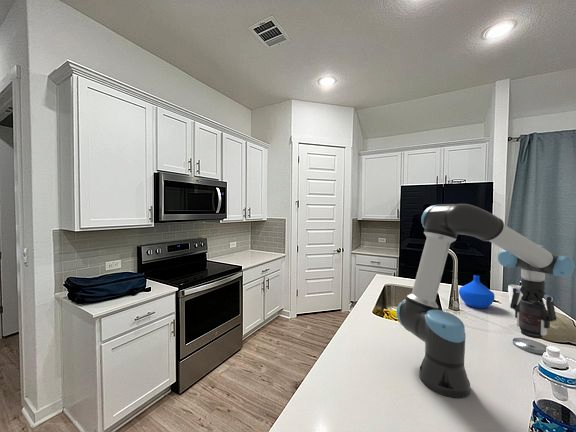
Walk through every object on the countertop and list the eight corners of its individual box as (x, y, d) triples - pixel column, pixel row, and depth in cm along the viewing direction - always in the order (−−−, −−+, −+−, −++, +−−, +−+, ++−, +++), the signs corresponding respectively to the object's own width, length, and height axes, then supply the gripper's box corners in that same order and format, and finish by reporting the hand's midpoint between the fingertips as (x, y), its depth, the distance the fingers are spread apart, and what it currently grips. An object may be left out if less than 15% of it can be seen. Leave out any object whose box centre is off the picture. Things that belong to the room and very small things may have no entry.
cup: (530, 307, 156) (531, 288, 156) (516, 307, 156) (516, 288, 156) (517, 302, 165) (518, 284, 165) (504, 302, 165) (504, 284, 165)
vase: (462, 298, 172) (463, 271, 172) (496, 306, 159) (497, 276, 158) (455, 305, 160) (455, 275, 159) (491, 313, 146) (492, 281, 146)
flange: (539, 357, 103) (539, 353, 103) (506, 342, 114) (506, 339, 114) (557, 352, 106) (557, 349, 106) (523, 338, 118) (523, 335, 118)
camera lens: (549, 340, 105) (550, 305, 105) (527, 338, 107) (528, 304, 107) (535, 331, 113) (535, 299, 113) (514, 329, 115) (515, 297, 114)
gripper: (570, 285, 101) (568, 340, 101) (511, 273, 121) (510, 319, 121) (558, 286, 99) (557, 343, 99) (500, 274, 118) (499, 321, 119)
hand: (531, 330), depth 110 cm, fingers closed on camera lens, 8 cm apart
